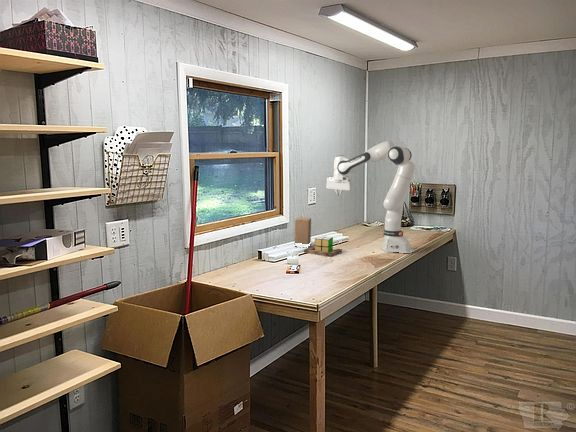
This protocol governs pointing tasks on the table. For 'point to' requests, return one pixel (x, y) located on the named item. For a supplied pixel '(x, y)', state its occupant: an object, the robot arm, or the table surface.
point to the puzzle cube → (324, 244)
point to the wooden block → (303, 230)
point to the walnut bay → (329, 254)
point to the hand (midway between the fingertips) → (338, 195)
